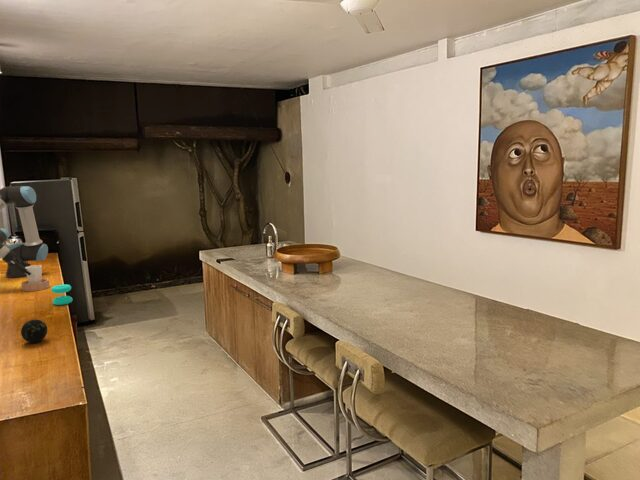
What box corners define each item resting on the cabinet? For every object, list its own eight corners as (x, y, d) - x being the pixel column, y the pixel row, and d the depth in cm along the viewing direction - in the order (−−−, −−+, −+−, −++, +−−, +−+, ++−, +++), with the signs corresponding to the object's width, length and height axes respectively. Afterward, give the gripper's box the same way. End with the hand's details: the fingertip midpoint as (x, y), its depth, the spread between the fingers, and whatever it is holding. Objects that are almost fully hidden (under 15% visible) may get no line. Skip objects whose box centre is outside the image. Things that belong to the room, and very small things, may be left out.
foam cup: (47, 284, 318) (45, 265, 316) (38, 288, 309) (35, 268, 307) (33, 285, 319) (31, 265, 317) (23, 288, 310) (21, 268, 308)
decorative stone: (52, 337, 222) (50, 316, 220) (41, 345, 212) (38, 323, 210) (30, 338, 221) (27, 316, 220) (17, 346, 211) (14, 324, 210)
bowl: (24, 287, 318) (23, 280, 317) (50, 284, 324) (49, 277, 323) (20, 292, 304) (20, 285, 304) (48, 289, 310) (47, 282, 310)
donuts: (72, 283, 283) (68, 287, 273) (74, 300, 284) (70, 304, 275) (53, 284, 280) (48, 288, 270) (55, 301, 282) (50, 306, 272)
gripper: (4, 256, 315) (34, 276, 324) (-3, 262, 293) (29, 284, 301) (13, 247, 317) (42, 267, 325) (7, 253, 294) (38, 274, 303)
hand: (36, 275), depth 313 cm, fingers open, 13 cm apart
